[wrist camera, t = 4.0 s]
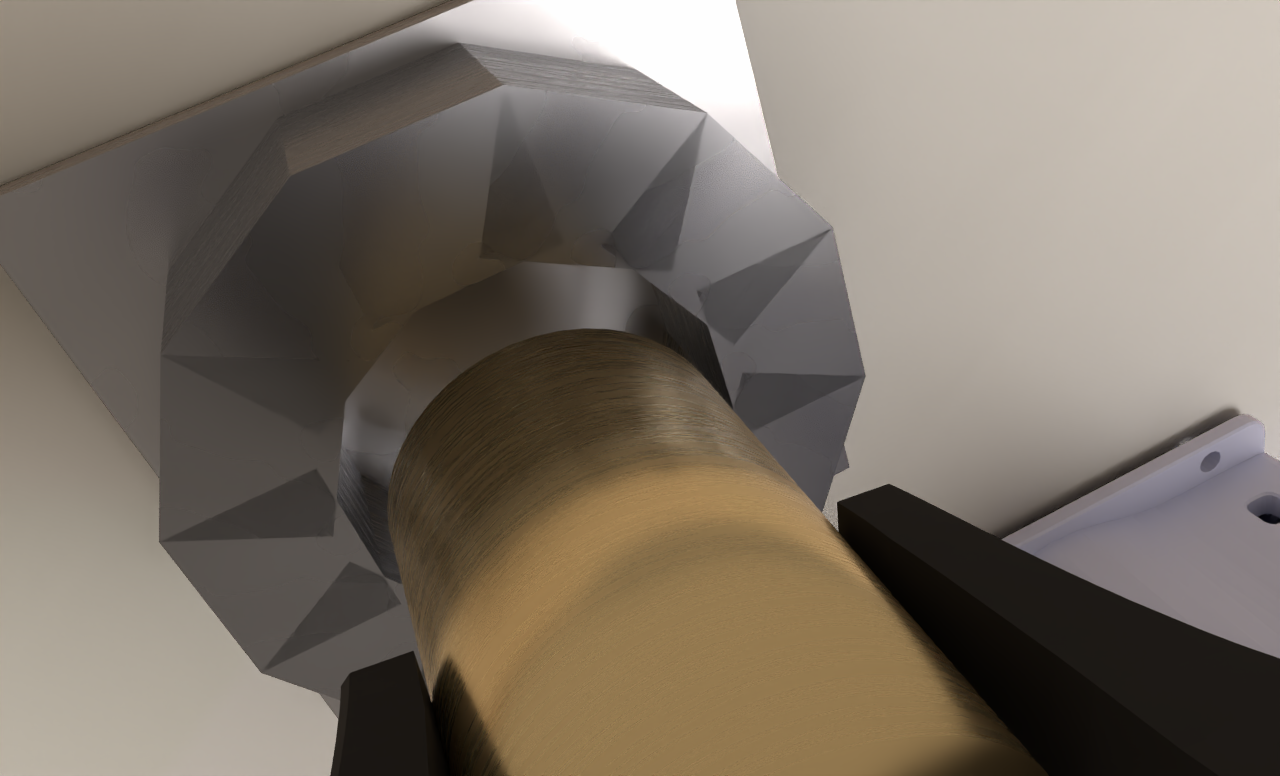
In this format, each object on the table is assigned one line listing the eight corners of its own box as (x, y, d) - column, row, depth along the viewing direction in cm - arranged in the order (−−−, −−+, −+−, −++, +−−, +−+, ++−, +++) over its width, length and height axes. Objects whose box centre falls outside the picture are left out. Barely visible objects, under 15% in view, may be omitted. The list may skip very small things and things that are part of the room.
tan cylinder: (712, 284, 12) (1161, 711, 7) (743, 566, 15) (1097, 1070, 9) (340, 392, 11) (476, 1009, 6) (437, 675, 14) (605, 1324, 8)
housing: (696, -101, 14) (799, -81, 12) (836, 453, 20) (926, 546, 17) (-31, 198, 13) (-89, 292, 10) (338, 702, 18) (358, 842, 16)
